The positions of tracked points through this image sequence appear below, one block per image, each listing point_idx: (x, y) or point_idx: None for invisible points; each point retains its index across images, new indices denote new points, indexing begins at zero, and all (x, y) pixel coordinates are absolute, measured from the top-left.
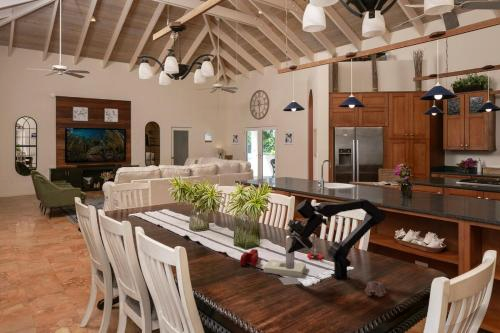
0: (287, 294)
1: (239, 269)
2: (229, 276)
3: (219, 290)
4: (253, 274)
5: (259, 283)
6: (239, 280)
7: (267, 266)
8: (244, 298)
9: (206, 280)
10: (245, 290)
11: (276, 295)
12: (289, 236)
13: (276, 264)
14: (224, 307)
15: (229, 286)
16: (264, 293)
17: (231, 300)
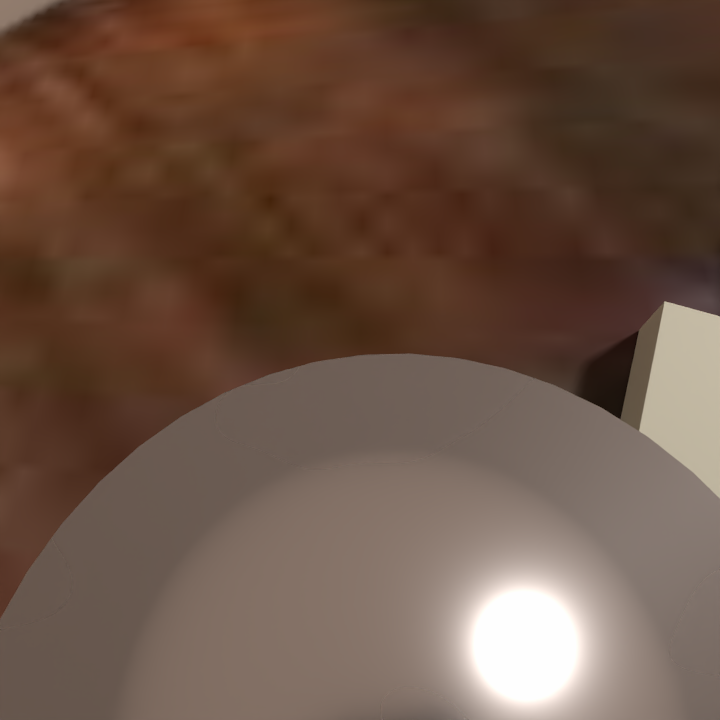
0: (20, 547)
1: (687, 114)
2: (492, 55)
3: (205, 21)
4: (565, 234)
5: (327, 287)
6: (402, 128)
7: (705, 348)
8: (29, 178)
9: None
10: (180, 180)
11: (24, 431)
12: (379, 700)
13: None
14: None
15: (274, 71)
16: (91, 326)
17: (17, 101)
